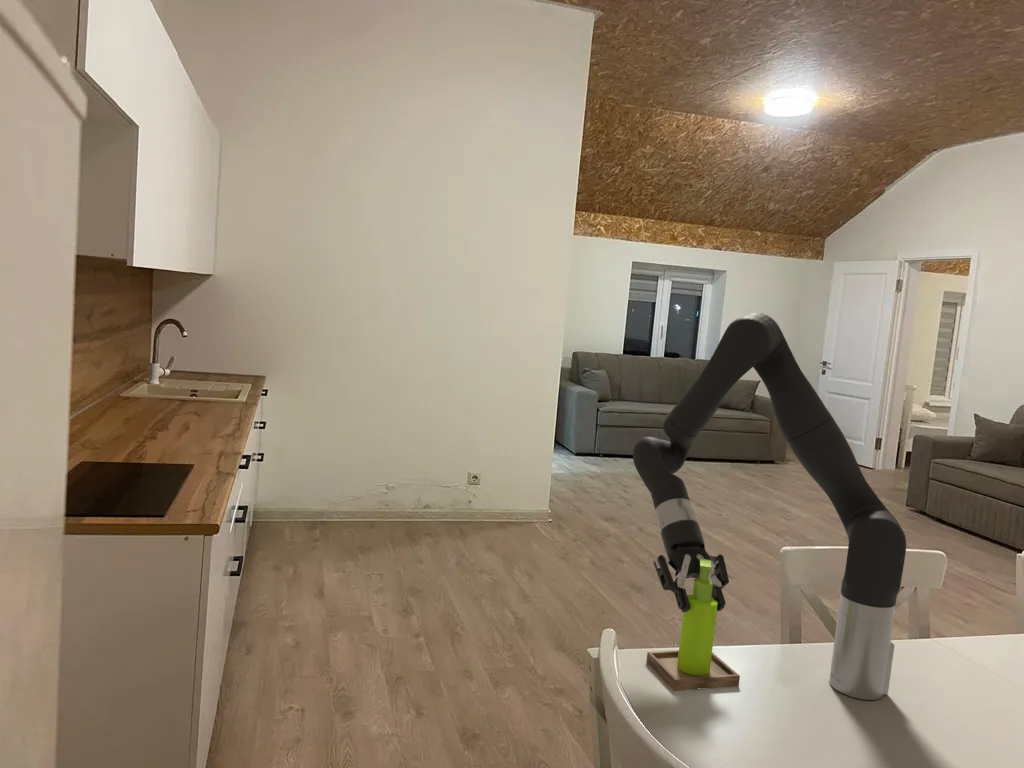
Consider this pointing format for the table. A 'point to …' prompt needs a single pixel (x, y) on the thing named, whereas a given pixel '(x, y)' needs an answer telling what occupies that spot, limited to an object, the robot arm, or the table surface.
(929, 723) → the table surface
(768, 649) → the table surface
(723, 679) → the soap tray
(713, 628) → the soap dispenser
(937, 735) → the table surface
